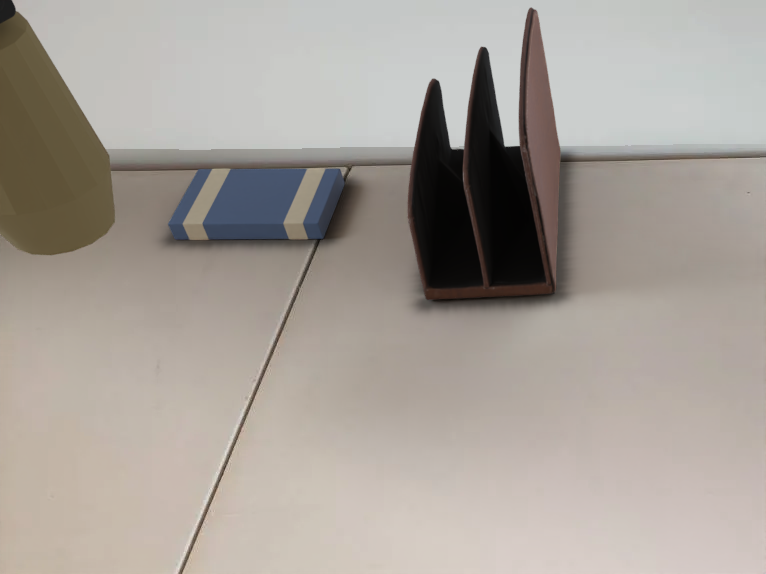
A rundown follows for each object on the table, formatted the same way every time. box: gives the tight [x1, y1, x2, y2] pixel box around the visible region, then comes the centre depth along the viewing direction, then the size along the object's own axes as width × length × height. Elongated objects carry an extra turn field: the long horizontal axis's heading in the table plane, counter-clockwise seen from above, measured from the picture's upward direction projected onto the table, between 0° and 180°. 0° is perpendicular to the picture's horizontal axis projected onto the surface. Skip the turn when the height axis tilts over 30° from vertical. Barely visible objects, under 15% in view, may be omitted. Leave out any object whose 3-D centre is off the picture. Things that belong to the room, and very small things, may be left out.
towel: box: [167, 167, 346, 241], centre depth 88 cm, size 8×12×2 cm, turn 90°
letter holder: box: [406, 7, 562, 301], centre depth 82 cm, size 10×20×14 cm, turn 4°
